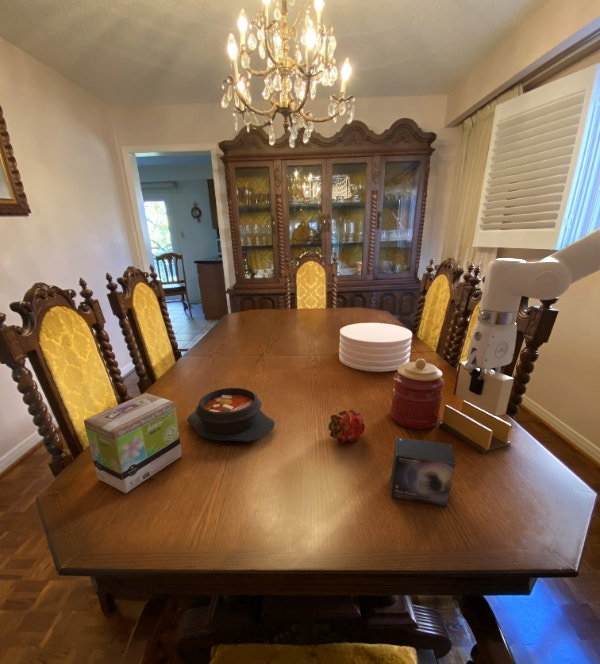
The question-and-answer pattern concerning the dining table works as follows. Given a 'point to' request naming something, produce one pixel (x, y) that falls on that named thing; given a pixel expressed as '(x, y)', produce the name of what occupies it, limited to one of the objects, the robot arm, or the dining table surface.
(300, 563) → the dining table surface
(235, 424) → the casserole
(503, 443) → the rack
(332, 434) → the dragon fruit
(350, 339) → the plate stack
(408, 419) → the kitchen canister
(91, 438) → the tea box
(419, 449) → the small box
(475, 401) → the book
